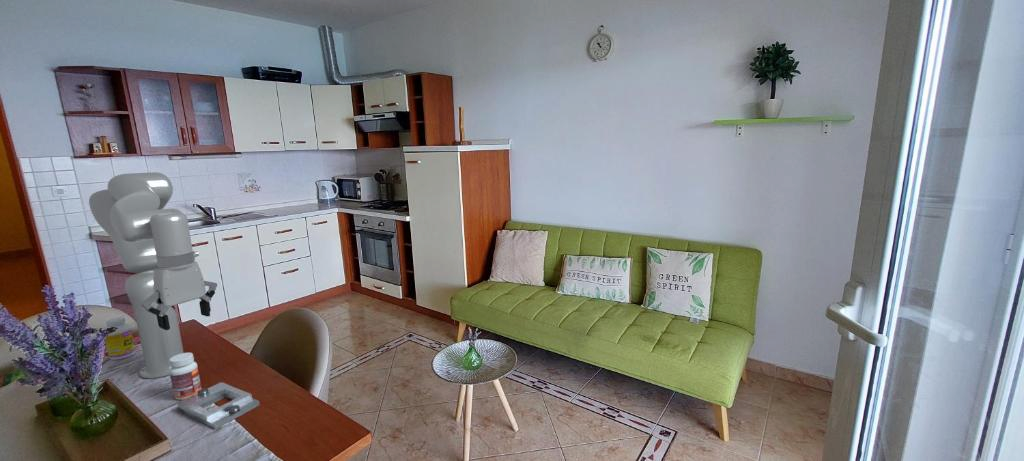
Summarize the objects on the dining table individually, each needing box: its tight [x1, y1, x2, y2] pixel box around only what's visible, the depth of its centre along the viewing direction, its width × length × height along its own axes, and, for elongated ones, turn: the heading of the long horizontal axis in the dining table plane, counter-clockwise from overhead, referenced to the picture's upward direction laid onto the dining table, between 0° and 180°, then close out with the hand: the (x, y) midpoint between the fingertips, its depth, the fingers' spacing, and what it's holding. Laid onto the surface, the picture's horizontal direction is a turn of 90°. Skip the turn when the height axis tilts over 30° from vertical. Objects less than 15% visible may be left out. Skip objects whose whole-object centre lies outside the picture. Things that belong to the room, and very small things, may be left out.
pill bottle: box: [169, 352, 202, 401], centre depth 118 cm, size 6×6×11 cm
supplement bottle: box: [105, 316, 136, 361], centre depth 142 cm, size 7×7×13 cm
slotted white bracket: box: [176, 381, 260, 430], centre depth 112 cm, size 17×11×3 cm, turn 62°
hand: (186, 322), depth 114 cm, fingers open, 9 cm apart
